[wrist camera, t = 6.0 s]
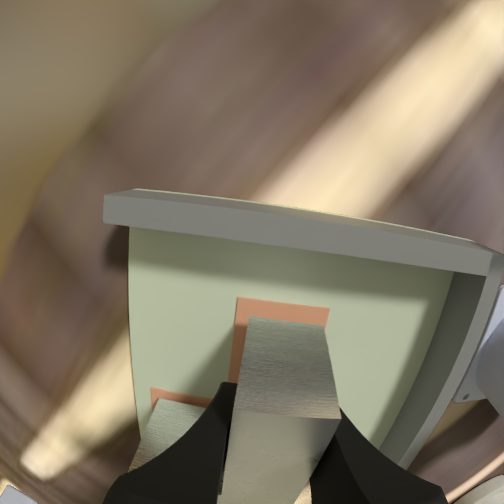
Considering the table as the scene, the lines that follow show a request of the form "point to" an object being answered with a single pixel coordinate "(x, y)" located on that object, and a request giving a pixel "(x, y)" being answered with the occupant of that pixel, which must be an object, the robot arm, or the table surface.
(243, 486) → the bracket
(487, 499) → the white tree stand
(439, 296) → the arena
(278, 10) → the table surface
